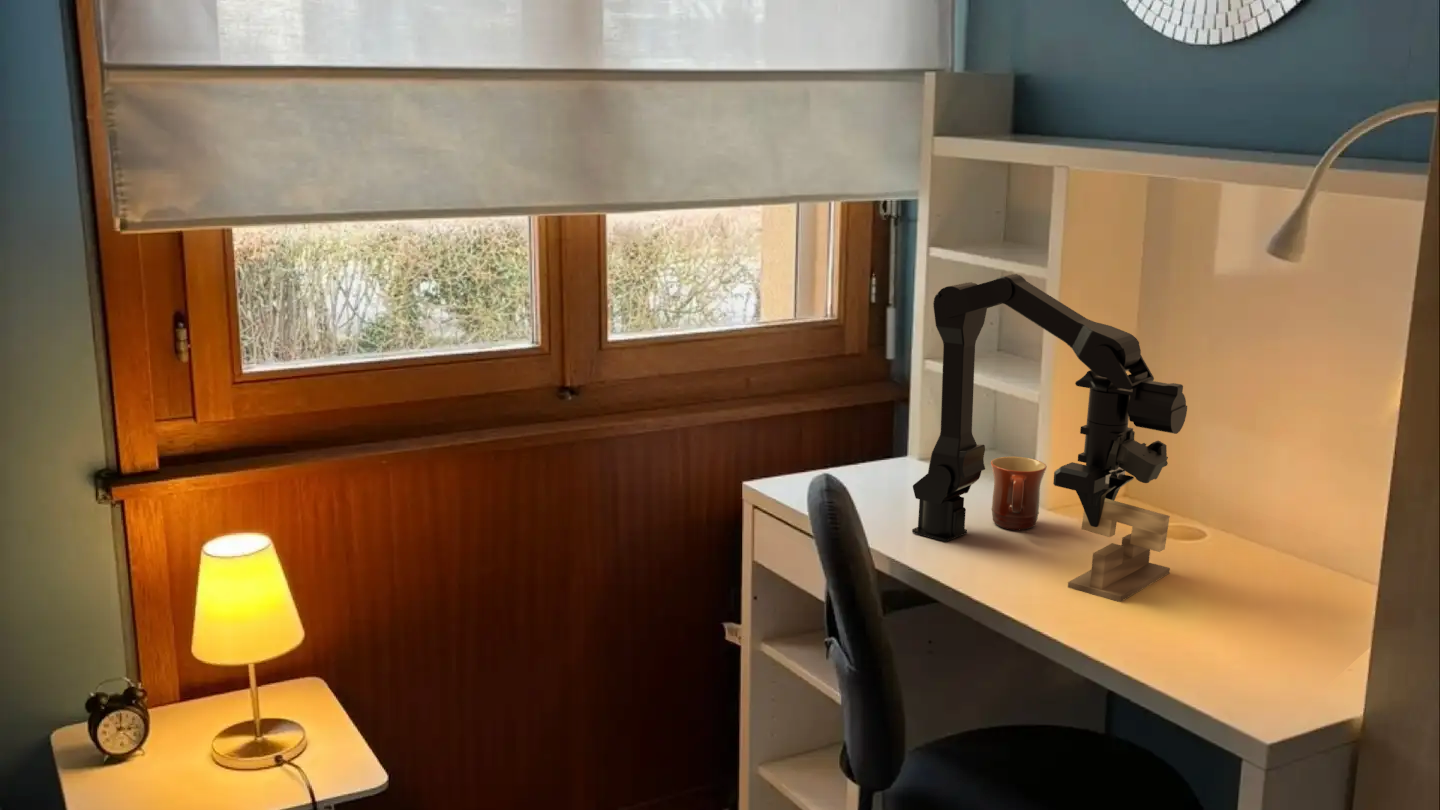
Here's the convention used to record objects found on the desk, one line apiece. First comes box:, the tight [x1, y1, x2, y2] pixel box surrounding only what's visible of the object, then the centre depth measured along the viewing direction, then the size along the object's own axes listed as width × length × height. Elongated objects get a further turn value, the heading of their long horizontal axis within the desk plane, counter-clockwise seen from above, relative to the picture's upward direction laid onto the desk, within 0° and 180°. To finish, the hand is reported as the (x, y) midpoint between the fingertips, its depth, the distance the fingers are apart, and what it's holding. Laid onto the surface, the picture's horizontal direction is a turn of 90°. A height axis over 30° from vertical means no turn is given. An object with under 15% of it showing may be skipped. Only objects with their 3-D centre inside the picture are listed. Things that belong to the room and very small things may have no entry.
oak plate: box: [1081, 498, 1171, 553], centre depth 198 cm, size 12×2×5 cm, turn 49°
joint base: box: [1067, 533, 1171, 603], centre depth 199 cm, size 8×16×6 cm, turn 138°
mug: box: [990, 456, 1047, 531], centre depth 221 cm, size 12×9×10 cm
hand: (1097, 524), depth 201 cm, fingers closed on oak plate, 2 cm apart
